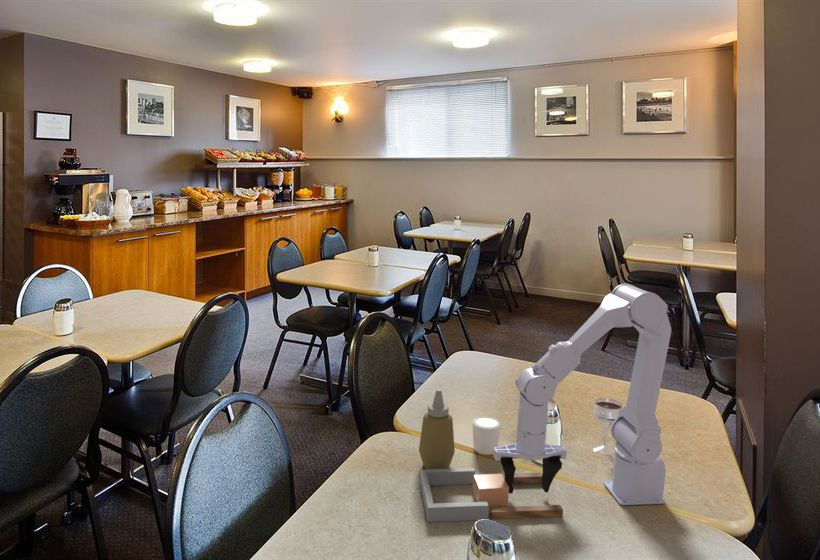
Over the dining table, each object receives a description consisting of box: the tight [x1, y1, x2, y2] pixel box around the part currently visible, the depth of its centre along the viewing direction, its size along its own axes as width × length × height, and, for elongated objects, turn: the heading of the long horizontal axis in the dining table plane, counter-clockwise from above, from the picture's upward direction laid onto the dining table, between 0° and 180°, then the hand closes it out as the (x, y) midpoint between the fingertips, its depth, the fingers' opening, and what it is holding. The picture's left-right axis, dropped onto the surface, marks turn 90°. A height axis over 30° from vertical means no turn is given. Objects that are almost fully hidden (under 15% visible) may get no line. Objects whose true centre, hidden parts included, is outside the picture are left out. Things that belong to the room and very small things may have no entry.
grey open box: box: [419, 467, 489, 523], centre depth 105 cm, size 12×13×3 cm
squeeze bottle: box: [418, 389, 455, 469], centre depth 116 cm, size 8×8×18 cm
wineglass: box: [592, 397, 625, 456], centre depth 125 cm, size 7×7×12 cm
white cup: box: [471, 415, 502, 456], centre depth 125 cm, size 7×7×7 cm
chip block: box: [471, 473, 510, 508], centre depth 105 cm, size 6×5×4 cm
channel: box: [476, 472, 564, 520], centre depth 106 cm, size 14×13×2 cm
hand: (527, 490), depth 106 cm, fingers open, 7 cm apart
